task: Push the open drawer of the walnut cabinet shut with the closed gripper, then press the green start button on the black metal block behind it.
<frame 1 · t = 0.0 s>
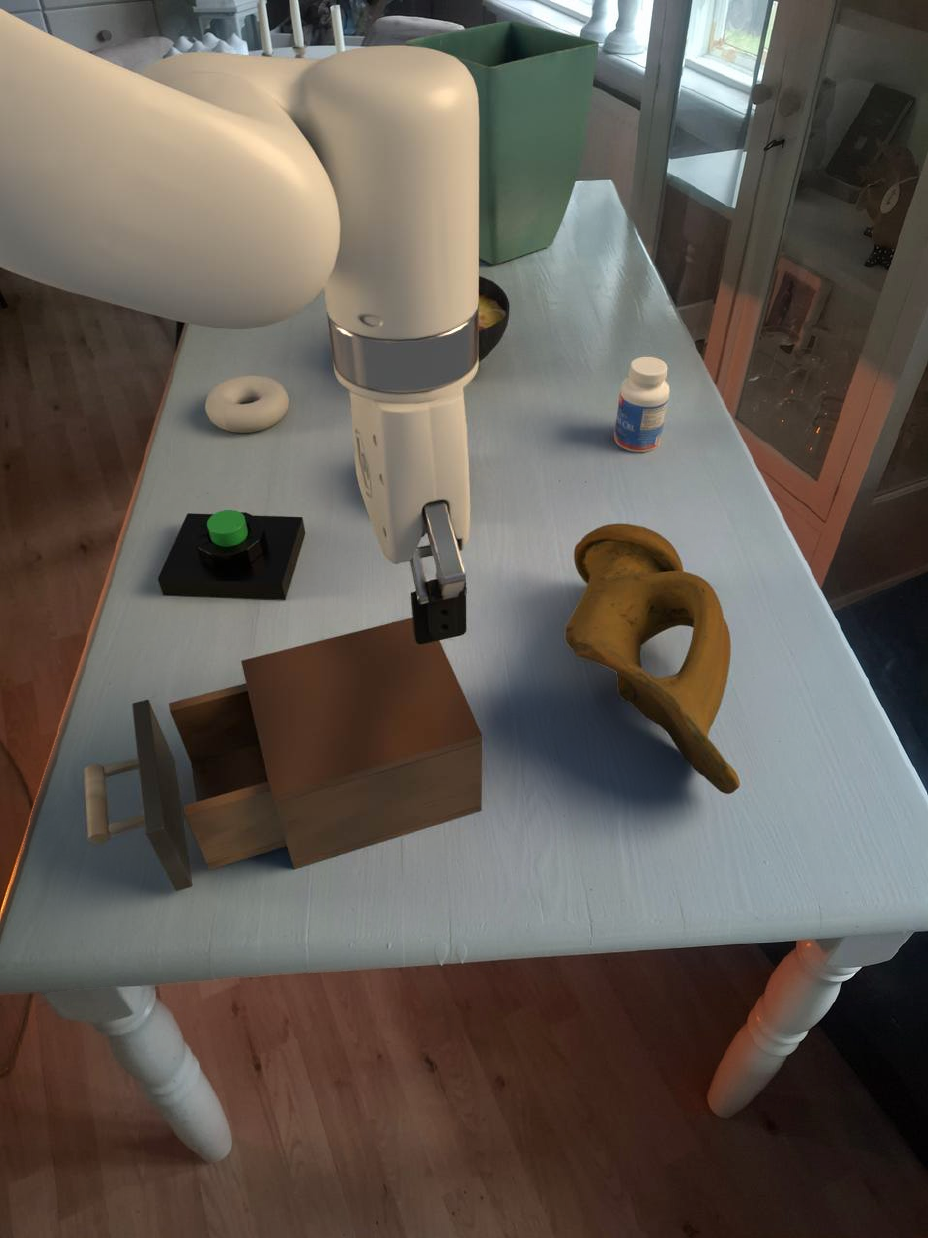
hand: (420, 584, 56), 19 cm above the table, tool pointing down, fingers open, 9 cm apart
bread roll: (421, 494, 94), on the table
drawer: (217, 777, 63), point 5 cm above the table, slide at 7.0 cm
pill bottle: (636, 442, 101), on the table
bowl: (443, 367, 113), on the table
flower pot: (497, 245, 141), on the table
start button: (227, 528, 83), point 5 cm above the table, slide at 0.2 cm
donut: (250, 416, 106), on the table
brown looped sculpture: (642, 692, 74), on the table
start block: (236, 563, 86), on the table
cabinet: (368, 773, 69), on the table
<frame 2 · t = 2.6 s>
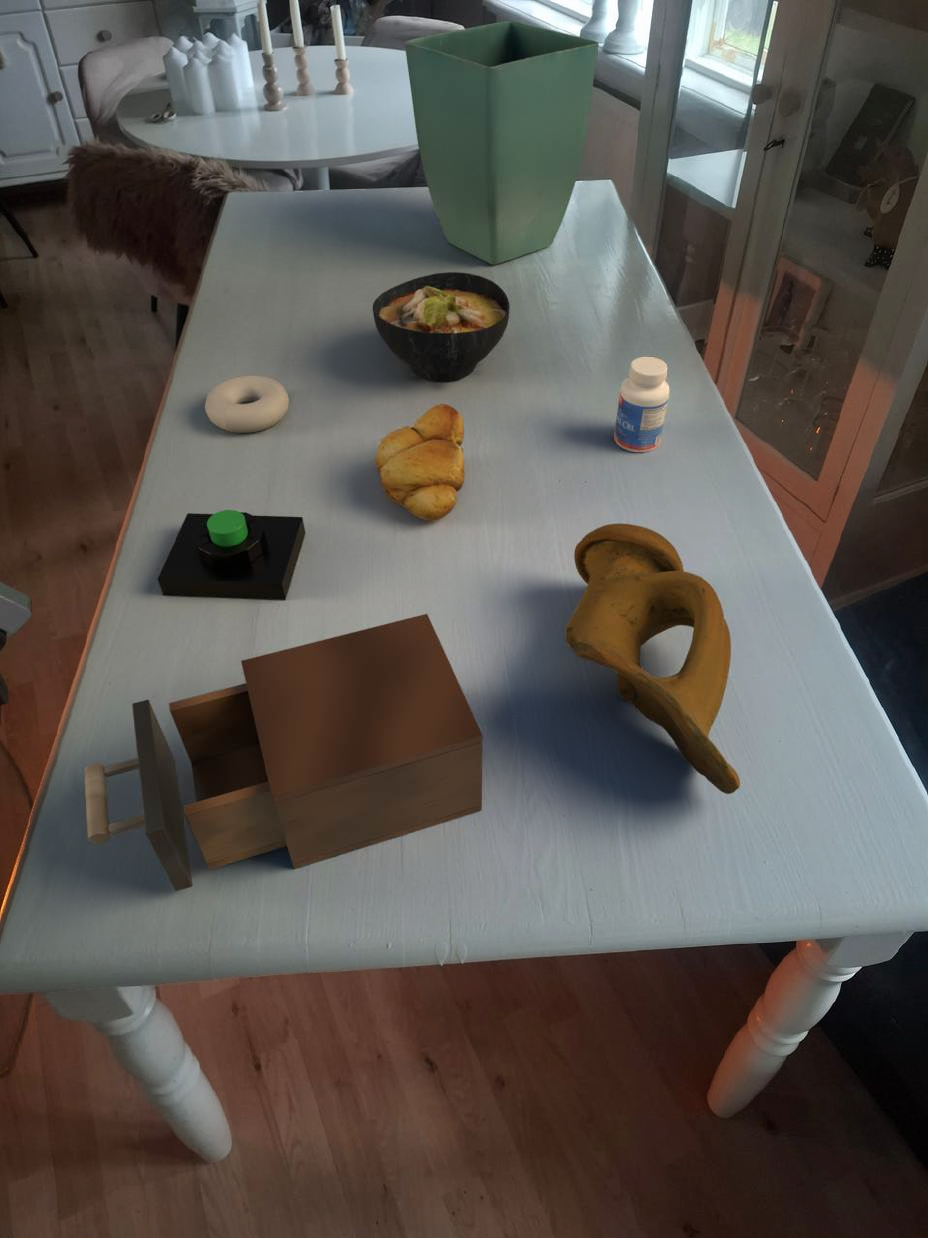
nothing on the table moved.
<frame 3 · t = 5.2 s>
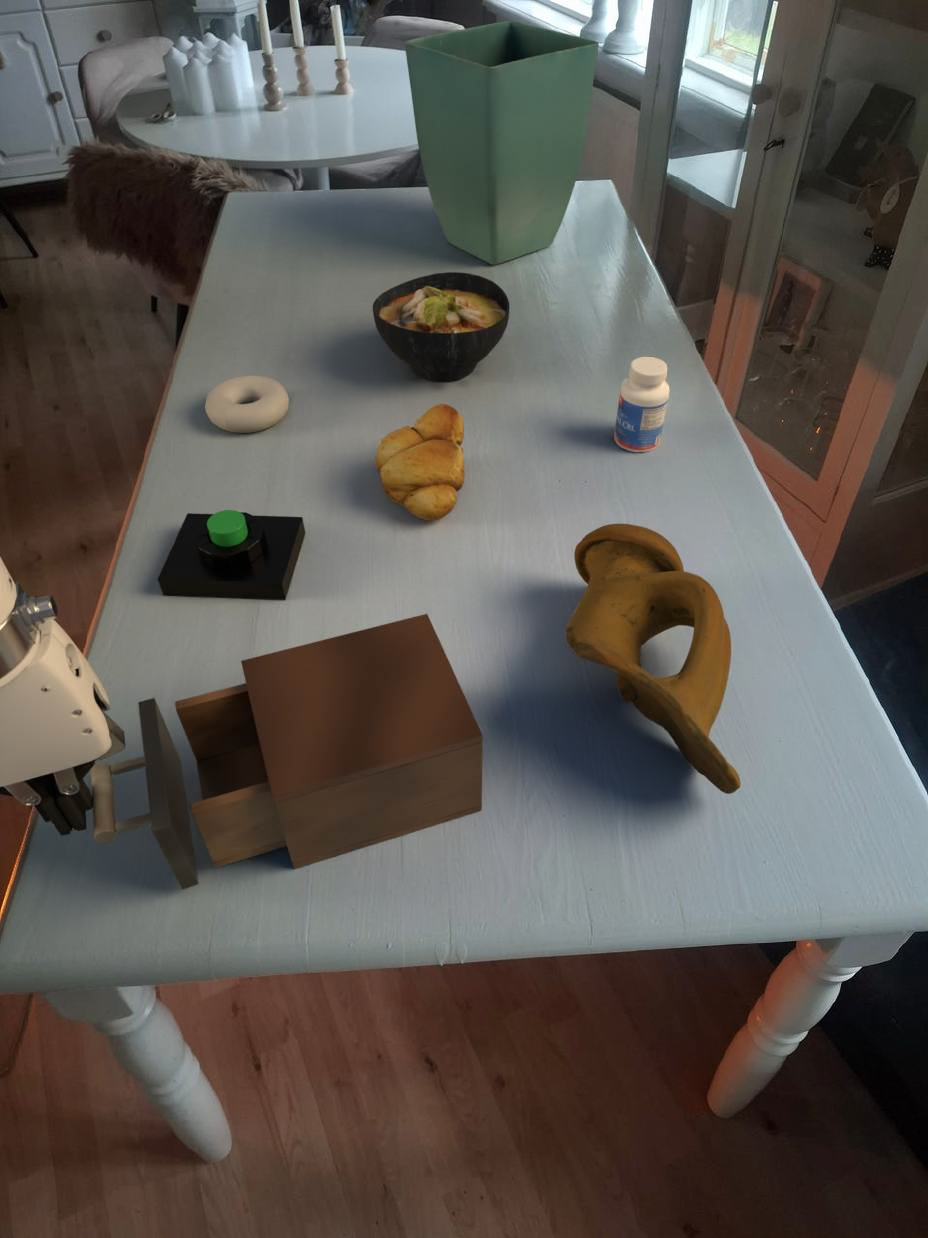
hand: (73, 815, 60), 5 cm above the table, tool pointing down, fingers closed
drawer: (223, 776, 63), point 5 cm above the table, slide at 6.6 cm, touching gripper
everything else where it was.
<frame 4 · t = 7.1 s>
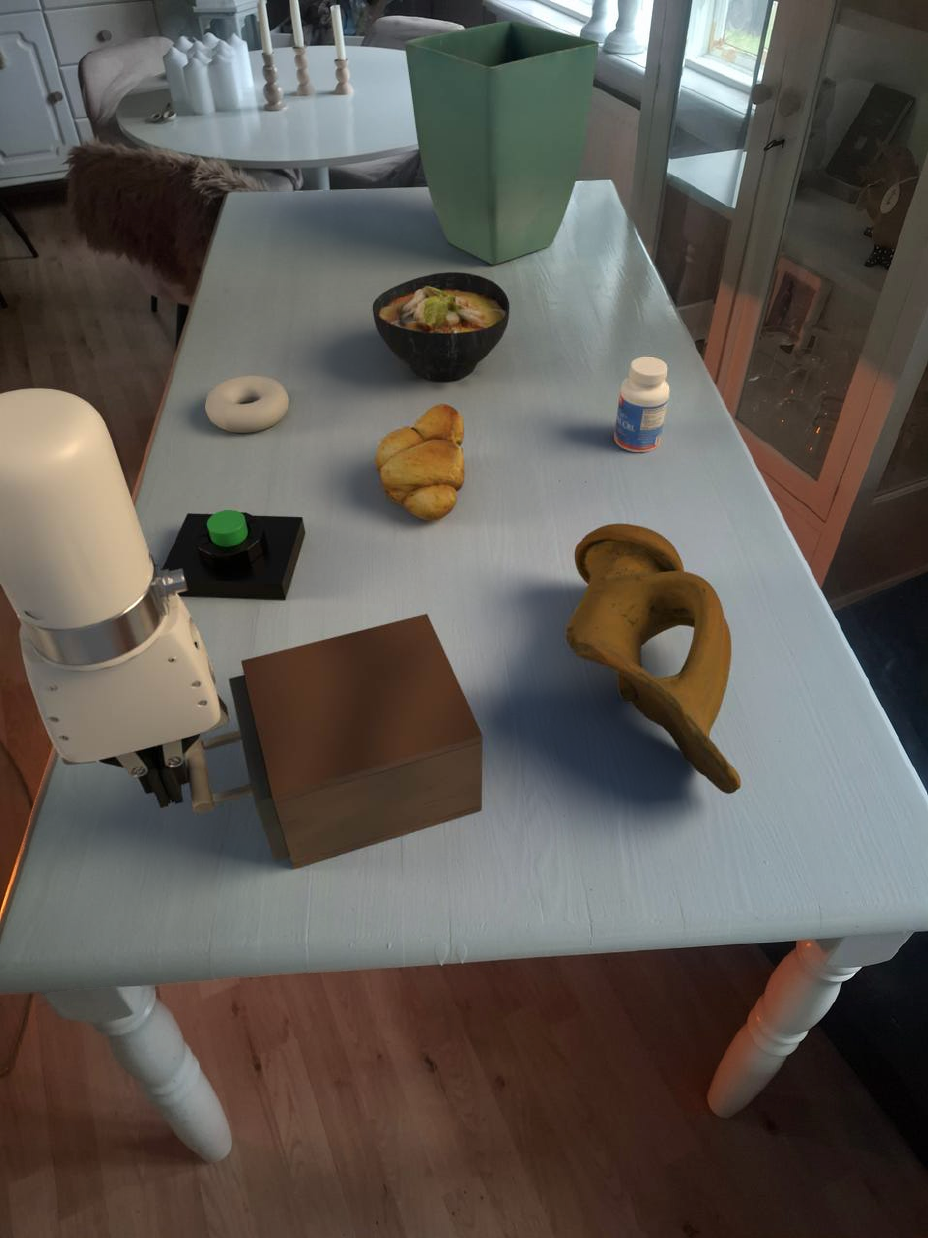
hand: (170, 788, 62), 5 cm above the table, tool pointing down, fingers closed
drawer: (312, 751, 64), point 5 cm above the table, slide at 0.0 cm, touching cabinet, gripper
everything else where it was.
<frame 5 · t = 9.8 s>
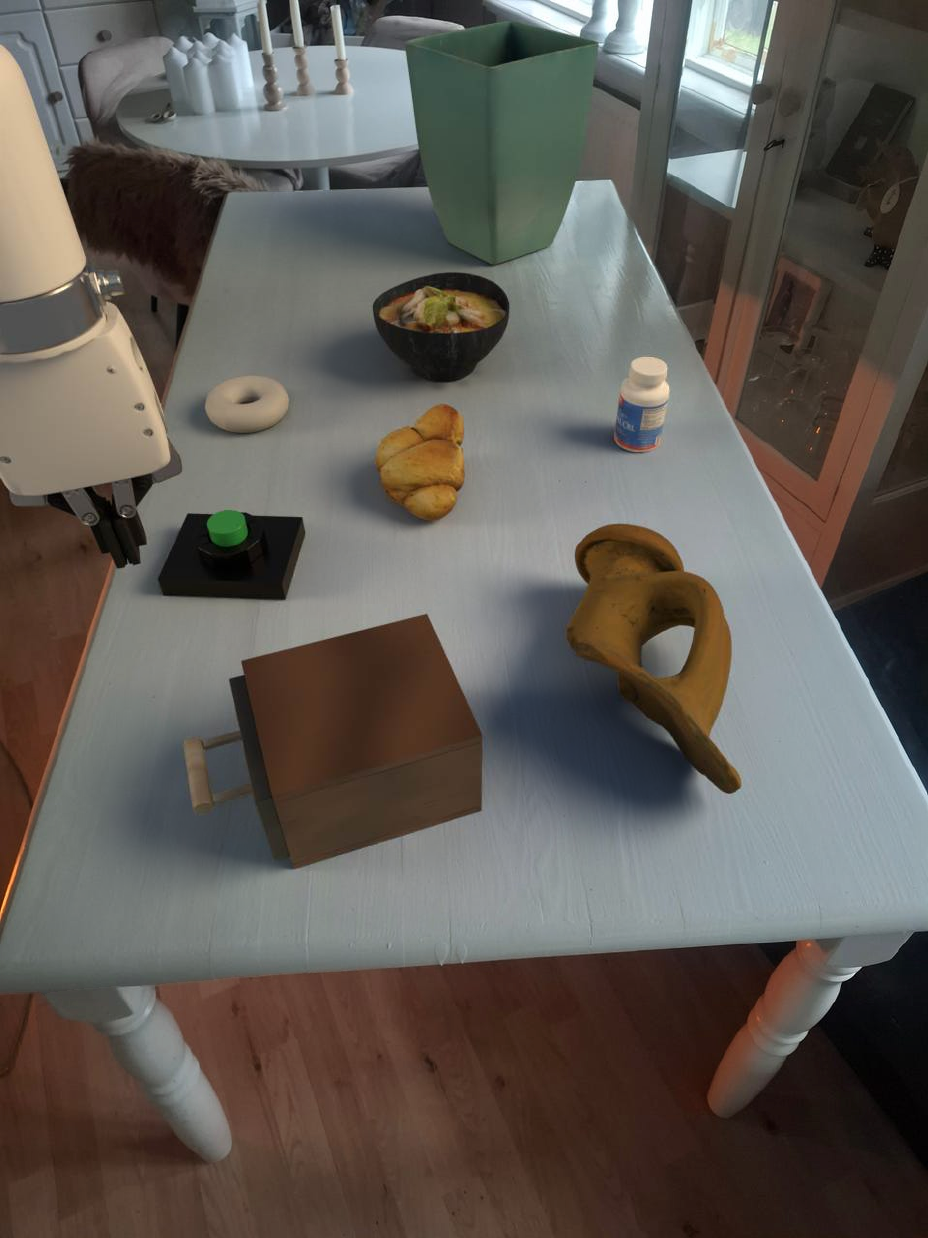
hand: (128, 553, 61), 18 cm above the table, tool pointing down, fingers closed
drawer: (312, 751, 64), point 5 cm above the table, slide at 0.0 cm
everything else where it was.
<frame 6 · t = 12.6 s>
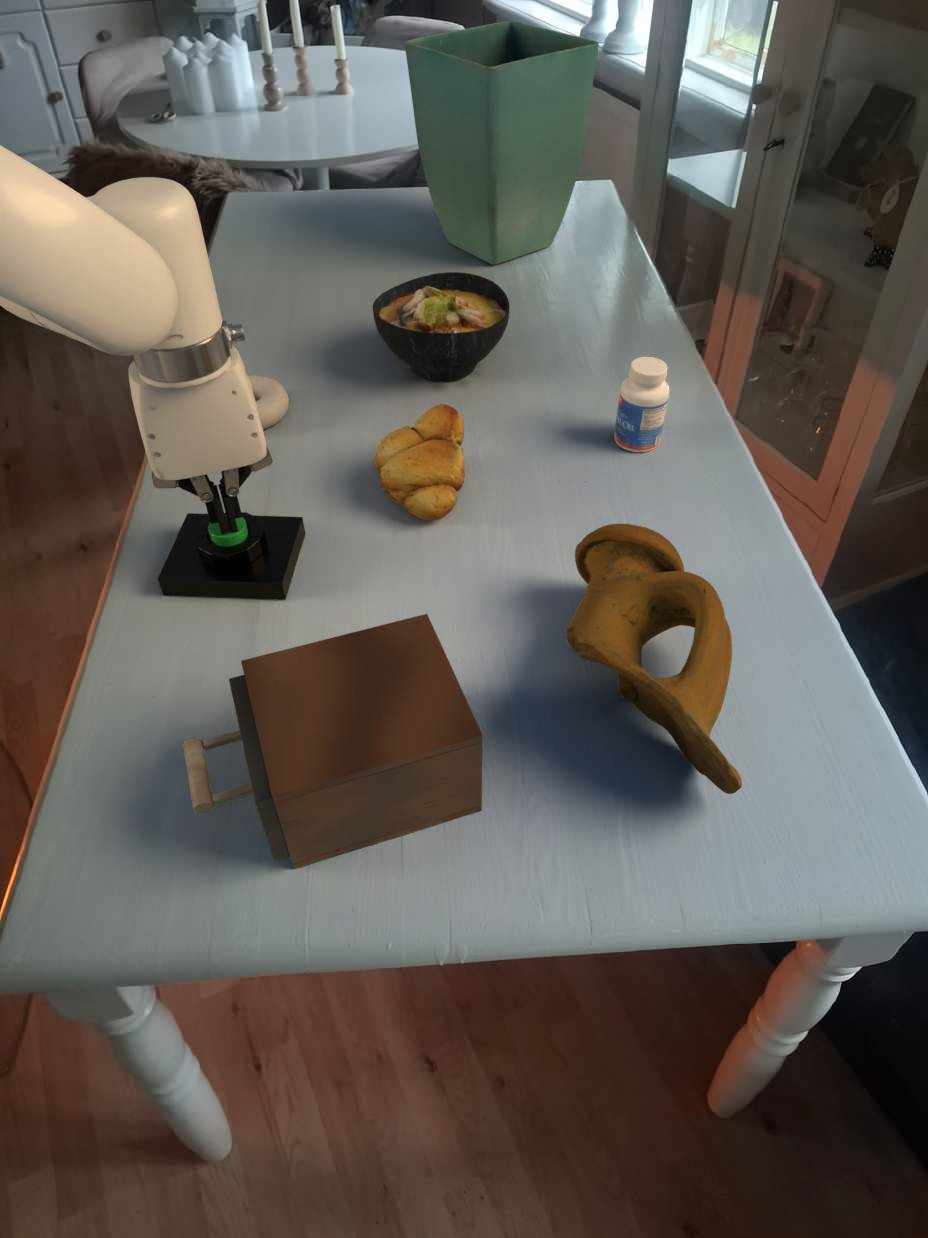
hand: (227, 524, 83), 5 cm above the table, tool pointing down, fingers closed
start button: (228, 532, 83), point 4 cm above the table, slide at -0.3 cm, touching gripper
everything else where it was.
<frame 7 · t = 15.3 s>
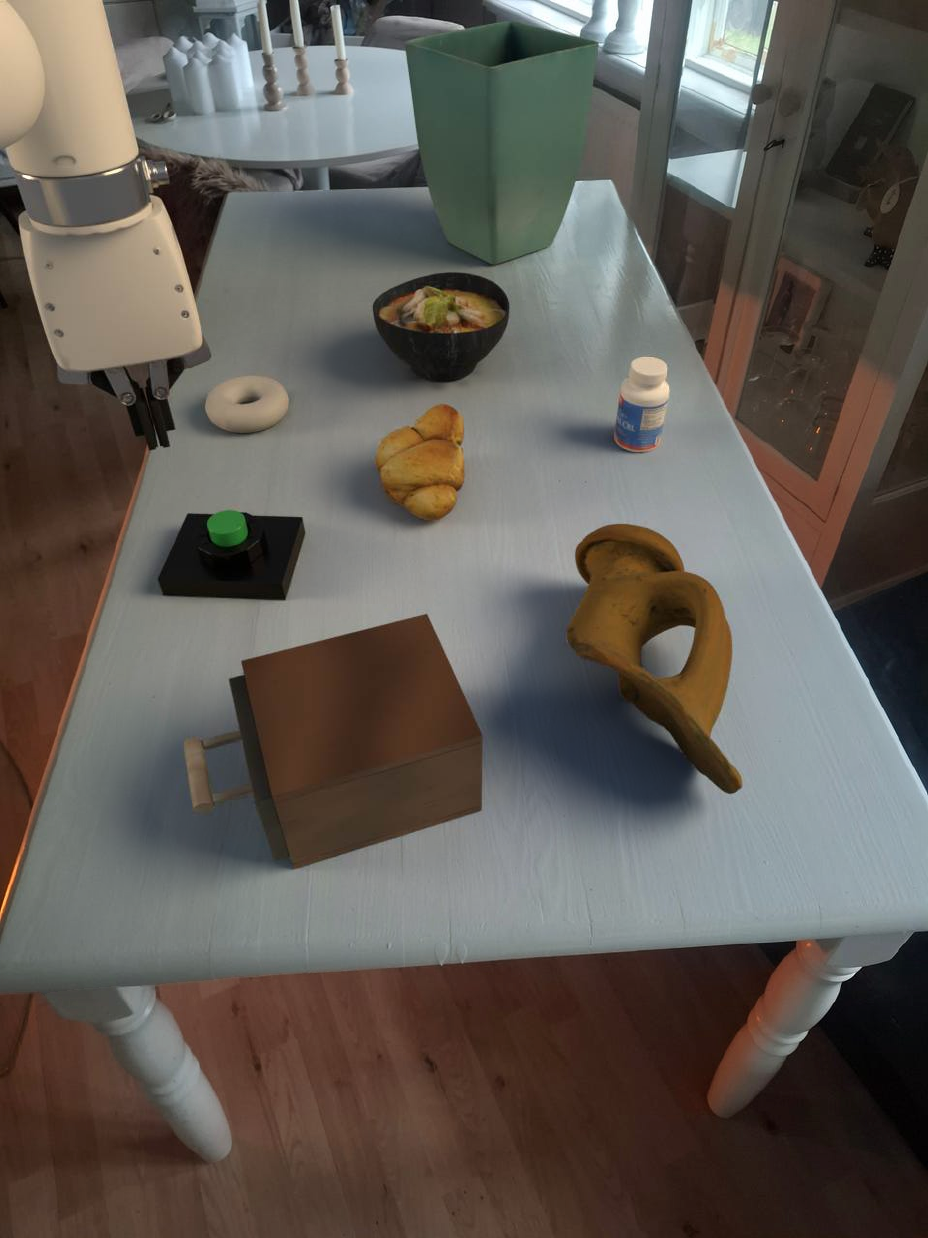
hand: (157, 439, 67), 20 cm above the table, tool pointing down, fingers closed
start button: (227, 528, 83), point 5 cm above the table, slide at 0.1 cm
everything else where it was.
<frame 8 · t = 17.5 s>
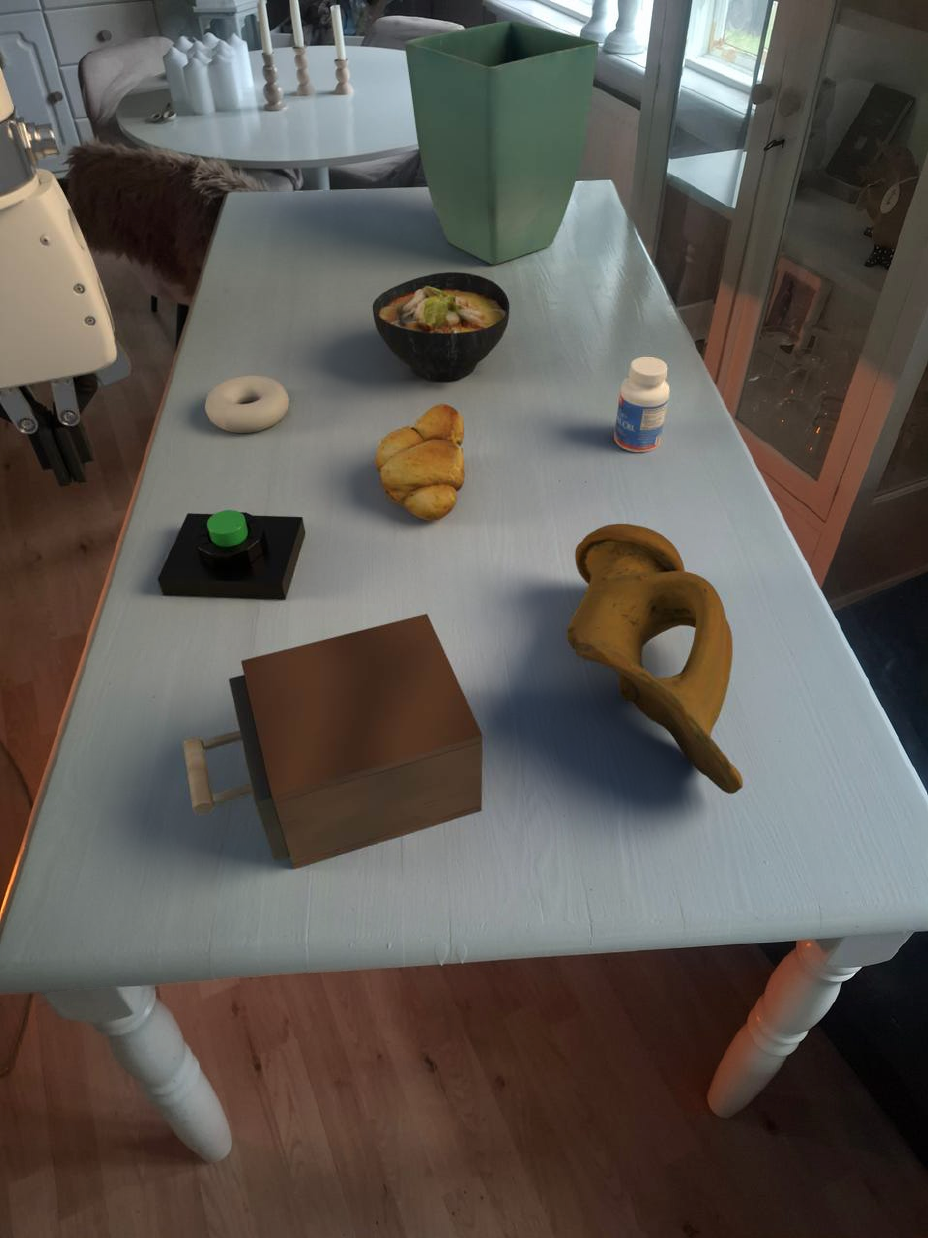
hand: (73, 471, 55), 25 cm above the table, tool pointing down, fingers closed
nothing on the table moved.
at the end: drawer slide at 0.0 cm; start button pushed in 1.1 cm at the most during the clip, back to where it started at the end; start button slide at 0.1 cm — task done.
